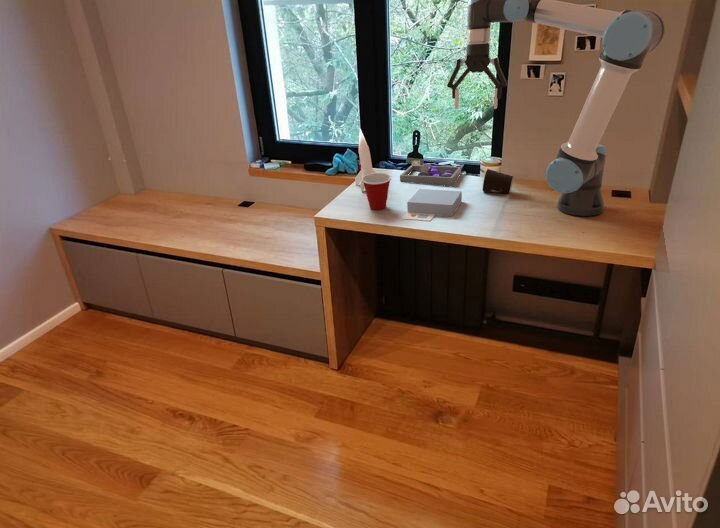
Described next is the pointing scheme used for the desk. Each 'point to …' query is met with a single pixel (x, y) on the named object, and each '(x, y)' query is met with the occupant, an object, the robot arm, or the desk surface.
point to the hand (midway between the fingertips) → (475, 108)
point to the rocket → (364, 161)
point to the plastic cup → (377, 189)
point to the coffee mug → (497, 182)
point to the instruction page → (418, 216)
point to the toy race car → (433, 171)
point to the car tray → (431, 179)
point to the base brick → (435, 202)
